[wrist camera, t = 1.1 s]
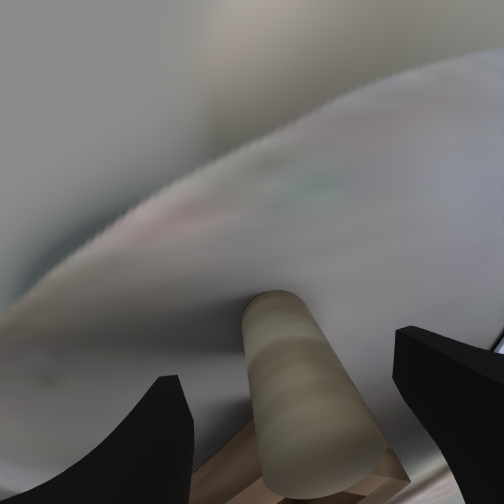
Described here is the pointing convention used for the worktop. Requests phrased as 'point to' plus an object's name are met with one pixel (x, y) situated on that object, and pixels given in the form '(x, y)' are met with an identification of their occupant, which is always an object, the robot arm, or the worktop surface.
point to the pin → (304, 403)
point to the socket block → (262, 499)
